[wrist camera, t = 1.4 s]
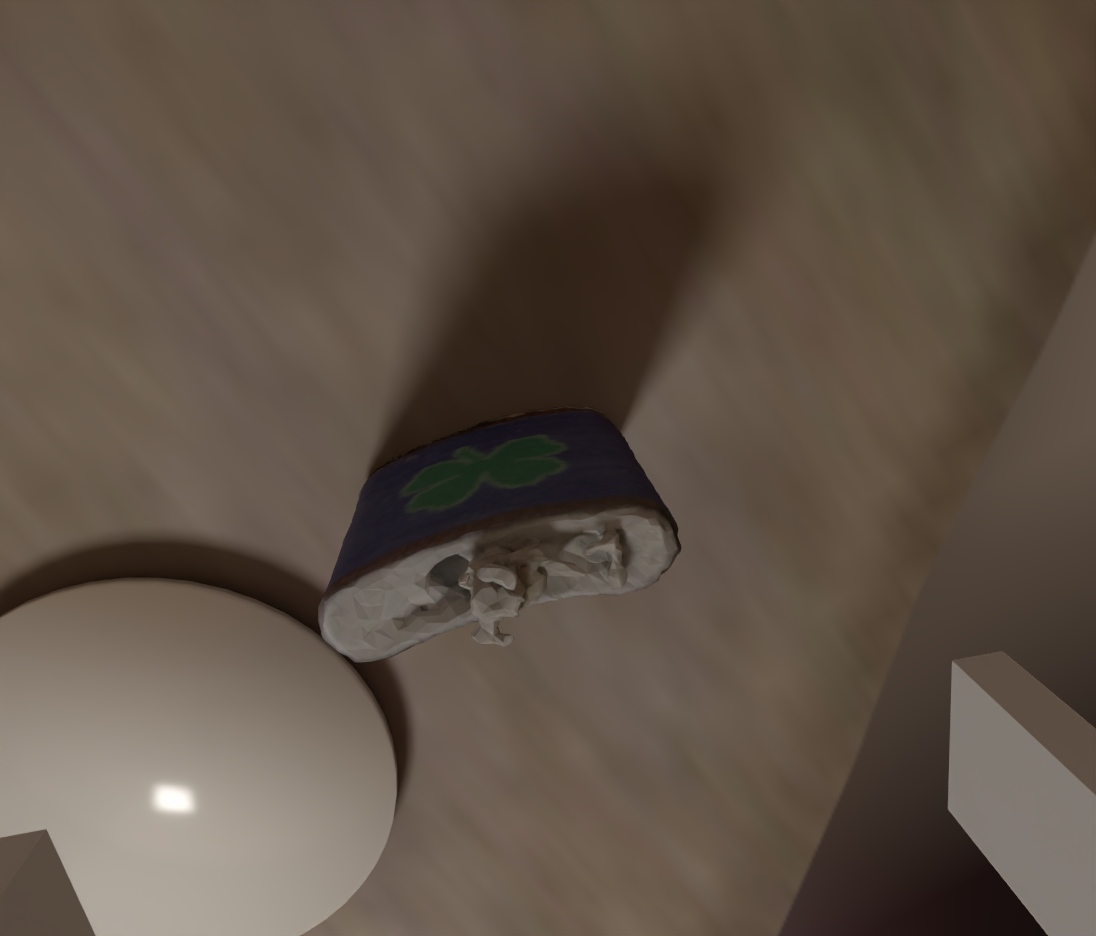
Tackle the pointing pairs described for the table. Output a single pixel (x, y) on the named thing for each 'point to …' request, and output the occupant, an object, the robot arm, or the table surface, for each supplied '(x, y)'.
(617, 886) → the table surface
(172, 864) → the plate
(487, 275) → the table surface
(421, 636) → the blue hip flask
